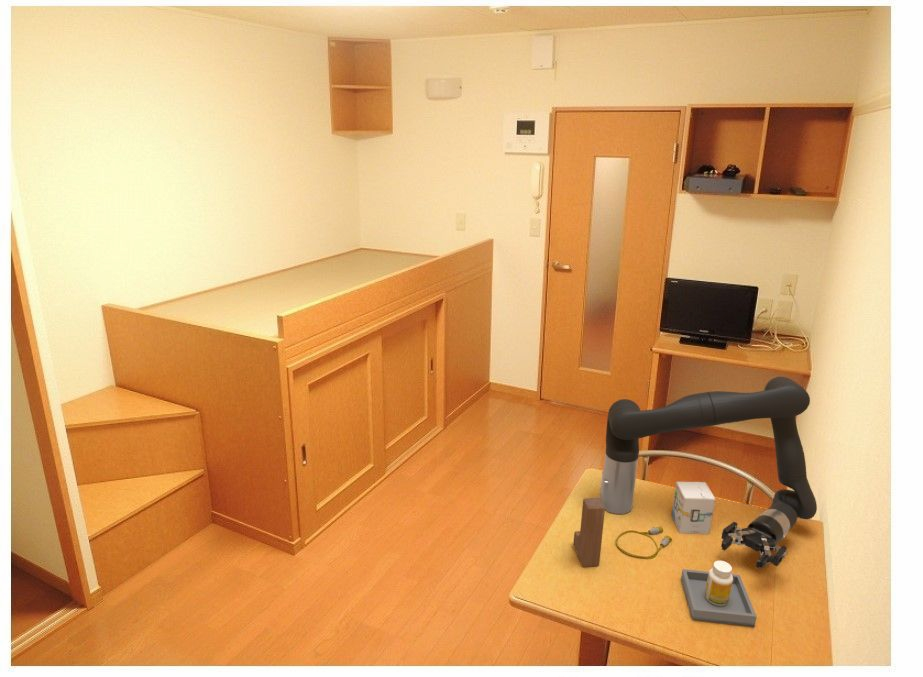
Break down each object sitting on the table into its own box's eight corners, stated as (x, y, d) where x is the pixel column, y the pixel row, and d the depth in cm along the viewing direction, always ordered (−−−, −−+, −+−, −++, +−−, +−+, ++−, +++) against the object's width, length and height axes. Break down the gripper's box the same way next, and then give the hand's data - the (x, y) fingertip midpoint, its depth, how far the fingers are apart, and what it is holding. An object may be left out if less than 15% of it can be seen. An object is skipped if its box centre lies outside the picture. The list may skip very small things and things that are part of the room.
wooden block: (572, 544, 166) (577, 487, 159) (588, 543, 166) (594, 486, 160) (582, 567, 157) (588, 508, 151) (599, 566, 158) (605, 507, 151)
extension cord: (680, 560, 161) (681, 554, 160) (621, 561, 160) (622, 554, 160) (664, 530, 172) (665, 524, 172) (609, 531, 172) (609, 525, 171)
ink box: (670, 514, 179) (675, 480, 175) (700, 515, 178) (706, 481, 174) (679, 533, 171) (684, 497, 167) (710, 534, 170) (716, 498, 166)
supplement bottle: (699, 592, 148) (705, 560, 145) (719, 588, 149) (725, 556, 146) (713, 609, 143) (720, 575, 140) (733, 604, 145) (740, 571, 141)
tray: (692, 620, 141) (694, 609, 140) (680, 578, 154) (682, 569, 153) (754, 627, 139) (756, 616, 138) (737, 584, 152) (739, 574, 151)
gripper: (744, 504, 164) (714, 529, 154) (800, 529, 154) (772, 558, 144) (739, 527, 166) (710, 553, 156) (794, 554, 156) (767, 584, 146)
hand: (740, 555), depth 150 cm, fingers open, 8 cm apart
